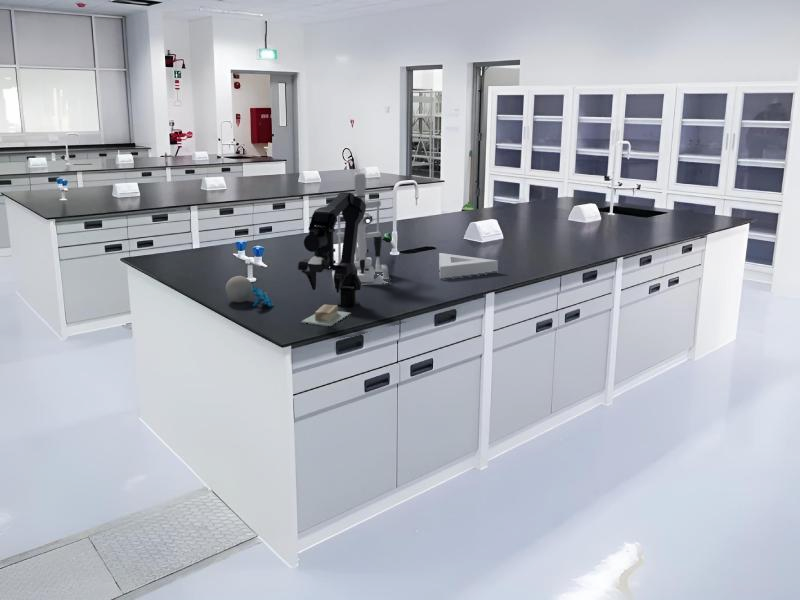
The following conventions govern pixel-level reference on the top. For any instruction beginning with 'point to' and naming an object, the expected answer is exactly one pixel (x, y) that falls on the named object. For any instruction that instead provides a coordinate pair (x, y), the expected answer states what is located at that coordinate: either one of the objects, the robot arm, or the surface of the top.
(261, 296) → the blue bumpy slanted figure
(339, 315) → the mat
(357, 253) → the microscope
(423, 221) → the top surface
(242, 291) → the grey ball
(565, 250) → the top surface
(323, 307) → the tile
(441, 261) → the triangular ruler
